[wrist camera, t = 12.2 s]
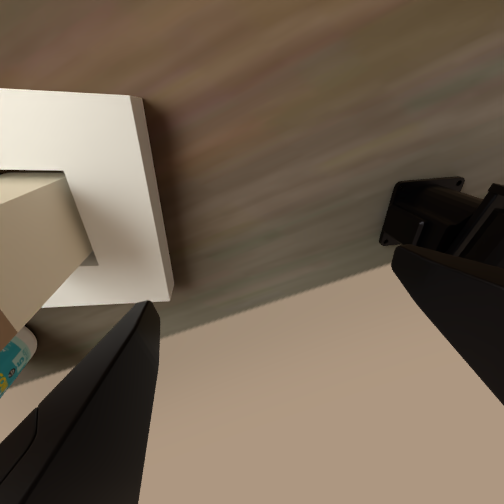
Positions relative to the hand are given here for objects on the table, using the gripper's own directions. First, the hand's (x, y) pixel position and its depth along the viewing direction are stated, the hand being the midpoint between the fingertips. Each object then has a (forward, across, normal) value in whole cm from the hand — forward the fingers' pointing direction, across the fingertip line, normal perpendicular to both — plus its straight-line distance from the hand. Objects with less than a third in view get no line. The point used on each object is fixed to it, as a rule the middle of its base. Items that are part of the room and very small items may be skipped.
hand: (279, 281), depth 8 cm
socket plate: (+14, +14, 0) cm, 20 cm away
